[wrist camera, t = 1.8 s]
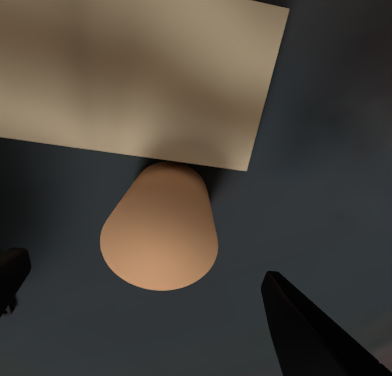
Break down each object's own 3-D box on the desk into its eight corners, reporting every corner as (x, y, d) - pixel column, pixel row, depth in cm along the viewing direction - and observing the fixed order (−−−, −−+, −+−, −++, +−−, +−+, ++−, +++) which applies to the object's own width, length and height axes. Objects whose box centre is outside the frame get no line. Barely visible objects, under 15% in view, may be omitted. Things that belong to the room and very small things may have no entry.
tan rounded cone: (201, 232, 14) (207, 294, 10) (131, 225, 14) (102, 286, 9) (214, 167, 12) (229, 205, 8) (133, 155, 12) (97, 189, 7)
